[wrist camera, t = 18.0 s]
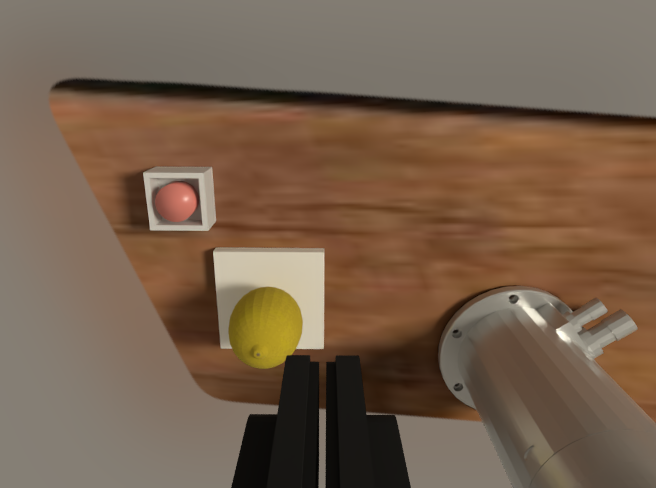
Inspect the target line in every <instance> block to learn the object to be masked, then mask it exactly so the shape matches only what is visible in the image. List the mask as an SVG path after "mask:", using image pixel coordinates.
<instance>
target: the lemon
mask: <svg viewBox="0 0 656 488" xmlns="http://www.w3.org/2000/svg"><path fill="white" fill-rule="evenodd" d="M302 326H303V319H302V315H301V310H300V308H299V306H298V304H297V302H296V301H295V300H294V298H293V297H292V296H291V295H290V294H288V293H287V292H285V291H284V290H282V289H279V288H276V287H260V288H257V289H254V290H251V291H250V292H249V293H247V294H246V295H244V296H243V297H242V298H241V299H240V300H239V301H238V303H237V304H236V305H235V307H234V309H233V312H232V314H231V316H230V321H229V328H228V334H229V341H230V345H231V347H232V349H233V351H234V353H235V354H236V356H237V357H238V358H239V359H240V360H241V361H242V362H244V363H245V364H247V365H249V366H251V367H255V368H261V369H267V368H271V367H275V366H277V365H279V364H282V363H283V362H284V361H285V360H286V356H287V355H292V353H293V352H294V350H295V349H296V347H297V346H298V343H299V340H300V338H301V335H302Z"/></svg>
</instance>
